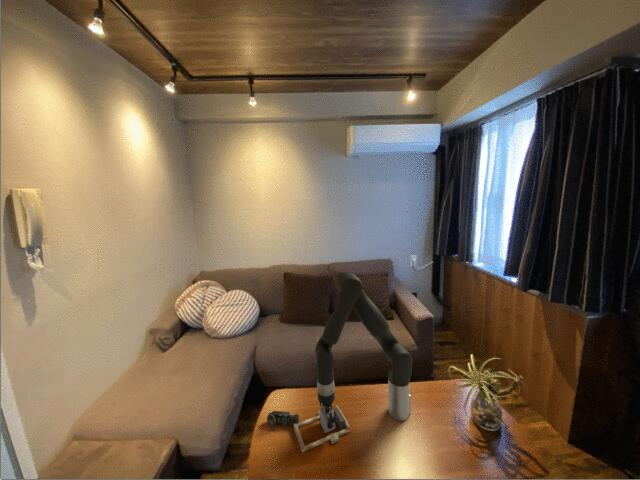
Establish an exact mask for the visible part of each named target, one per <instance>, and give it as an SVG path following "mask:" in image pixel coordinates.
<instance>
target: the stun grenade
mask: <svg viewBox="0 0 640 480" xmlns="http://www.w3.org/2000/svg"><path fill="white" fill-rule="evenodd" d="M299 416H300V415H299V414H297V413H296V414H291V412H290V411H281V410H273V411H271V412H268V414H267V417H266V422H267V423H266V424H267V425H268V426H269V427H270V430H271V431H273V430H274V427H273V426H277V425H281V426H283V425H286V426H294V424H297V425H298V423H300V422H299V421H300V418H299Z"/></svg>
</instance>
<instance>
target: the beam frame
mask: <svg viewBox="0 0 640 480" xmlns="http://www.w3.org/2000/svg"><path fill="white" fill-rule="evenodd" d="M333 411H334V412H335V413H336V418H335V422H336V423H337V425H338V426H339V429H340V430H339V431H337V432H333V433H331V434H329V435H327V436H325V437H323V438H320V439H317V440H315V441H313V442H310V443H309V444H306V445H305V443H304V441H303V437H302V434H301V432H300V429H299V428H302V427H304V426H306V425H309V424H311V423H314V422H316V421H318V420H319V421H320V409H318V410H317V415H316V416H313V417H310V418H308V419H306V420H304V421H300V422H298V425H297V424H294V426H293V425H292V426H293V427H292V428H293V430H294V433H295V435H296V439H297V441H298V445H299V447H300V451H301V453H304V452H306V451H309V450H311V449H313V448H315V447H317V446H320V445H323V444H325V443H327V442H329V441H330V442H331V445H333V444H336V443H338V442H340V440H339V439H340V438H339V437H341V436H343V435H345V434H347V433H350V432H351V425H350V424H349V422H348V421H347V418H345V415H344V413H343V412H342V410H341V408H340V407H339V405H335V407H333Z"/></svg>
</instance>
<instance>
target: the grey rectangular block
mask: <svg viewBox="0 0 640 480" xmlns="http://www.w3.org/2000/svg"><path fill="white" fill-rule="evenodd" d="M319 410H320V419H319V421H320V425H321V428H322V430H323V432H324V434H327V433H329V432H331V431H333V430H336V422H335V423H333V427H332V428H331V429H328V425H327V417H326V416H325V411H324V408H321V407H320V408H319ZM333 412H334V411H333ZM328 413H330V412H328Z"/></svg>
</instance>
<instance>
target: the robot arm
mask: <svg viewBox="0 0 640 480" xmlns="http://www.w3.org/2000/svg"><path fill="white" fill-rule="evenodd" d="M336 286H337V289H338V291H339V293H340V296H339V298H338V299H339V301H338V303H337V305H336V308H335V310H334V311H333V312H332V314H331V315H330V316H329V318H328V320H327V321H326V325H325V327H324V330H323V333H322V335H321V336H320V338H319V339H318V341H317V343H316V346H315V351H314V354H315V358H316V363H317V369H316V379H317V381H316V382H317V383H316V388H317V389H316V392H317V399H318V402H319V407H320V408H324V411H325V416H326V417H327V425H328V429H331V428H332V427H333V423H335V424H336V419H335V418H336V413H335V412H333V408H334V407H333V403H334V402H335V399H336V391H335V390H336V388H335V380H334V365H335V358H334V357H335V356H334V353H333V351H332V349H333V346H335V345H337V343H338V342H339V340H340V337H341V335H342V332H343V330H344V327H345V325H346V322H347V320H348V318H349V316H350V314H351V312H352V310H353V309H354V311H355V312H356V314H357V316H358V318H359V319H360V321H361V323H362V325H363V326H364V328H365V329H366V331H368V332H369V334H370V335H371V336H372V337H373V338H374V340H375V341H377V342H378V344H379V345H380V347H381V349H382V351H383V353H384V355H385V357H386V359H387V360H388V361H389V363H390V364H391V366H392V367H391V369H389V371H388V374H387V379H388V381H387V382H388V383H387V385H388V386H387V387H388V390H387V392H388V394H387V395H388V396H387V403H388V407H387V410H388V415H389V417H391V418H392V419H394V420H396V421H401V422H403V421H406V420H407V419H409V417H410V415H411V414H412V396H411V394H410V380H411V378H412V374H413V373H412V371H413V356H412V354H411V353H410V352H409V351H408V350H407V349H406V348H405V347H404V345H402V343H400V341H399V340H398V339H397V338H396V337H395V335H394V334H393V333H392V330H391V328H390V326H389V323H388V321H387V319H386V318H385V316H384V315H383V313H382V312H381V311H380V309H379V308H378V306H376V304H375V303H374V302H373V301H372V300H371V298H369V297H368V295H367V294H366V292H365V291H364V289H363V288H364V287H363V282H362V281H361V279H360V278H359V277H358V276H357V275H356V274H354V273H353V272H350V271H343V272H341V273H340V274H339V275H338V276H337V279H336ZM328 412H330V413H328Z"/></svg>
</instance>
